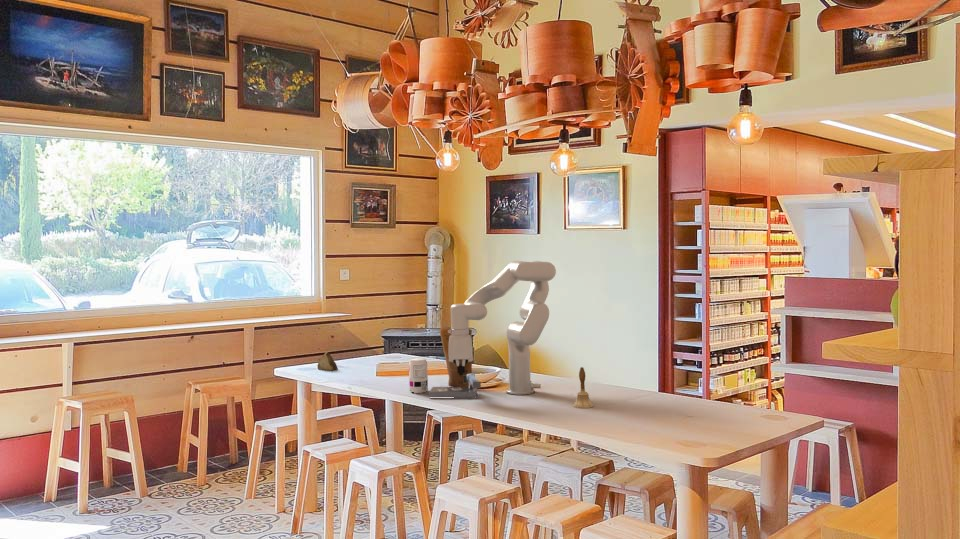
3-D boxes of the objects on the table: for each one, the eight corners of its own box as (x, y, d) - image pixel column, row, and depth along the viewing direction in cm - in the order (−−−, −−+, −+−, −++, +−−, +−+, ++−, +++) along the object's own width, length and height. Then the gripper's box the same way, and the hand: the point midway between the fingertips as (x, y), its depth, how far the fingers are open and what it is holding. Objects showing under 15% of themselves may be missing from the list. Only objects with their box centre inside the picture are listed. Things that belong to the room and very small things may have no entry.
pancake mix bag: (468, 390, 354) (466, 329, 352) (439, 385, 367) (438, 326, 366) (478, 388, 359) (477, 327, 357) (450, 382, 372) (448, 324, 370)
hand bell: (577, 409, 315) (577, 370, 314) (570, 404, 323) (569, 366, 322) (596, 407, 317) (596, 368, 316) (588, 402, 325) (587, 365, 324)
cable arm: (466, 379, 347) (466, 373, 347) (474, 378, 348) (474, 373, 347) (472, 388, 327) (472, 382, 327) (481, 388, 328) (481, 382, 328)
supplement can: (406, 393, 352) (405, 360, 351) (416, 389, 359) (415, 357, 358) (421, 394, 348) (420, 361, 347) (431, 390, 355) (430, 358, 355)
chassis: (477, 393, 348) (476, 379, 347) (475, 398, 338) (474, 384, 337) (432, 393, 350) (432, 379, 349) (429, 398, 340) (429, 384, 339)
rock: (311, 365, 415) (319, 365, 407) (319, 351, 418) (327, 351, 410) (327, 375, 420) (335, 375, 412) (335, 361, 423) (343, 361, 415)
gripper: (441, 334, 332) (443, 376, 333) (476, 333, 330) (477, 376, 332) (443, 331, 339) (445, 373, 340) (478, 331, 338) (479, 372, 339)
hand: (461, 374), depth 336 cm, fingers closed
